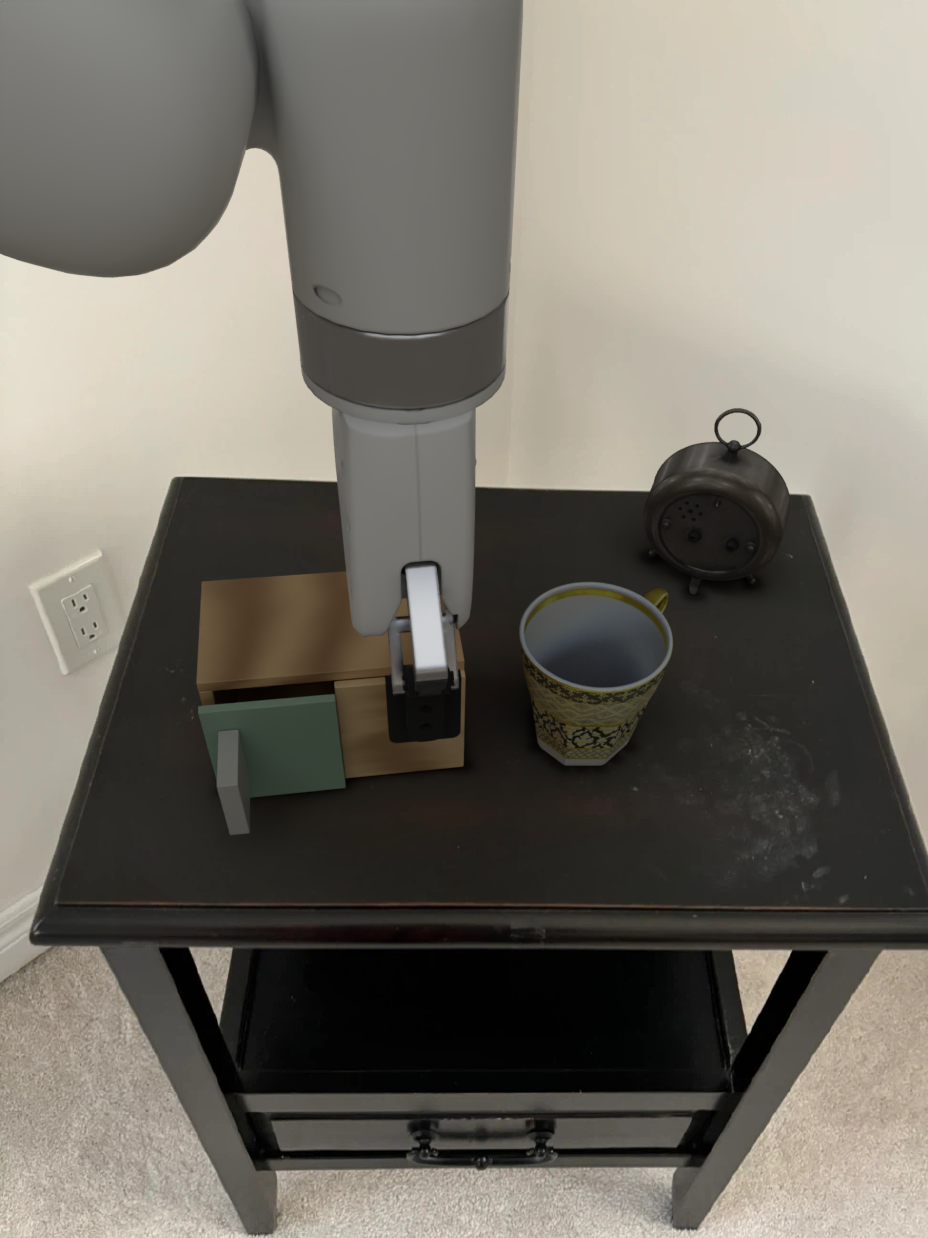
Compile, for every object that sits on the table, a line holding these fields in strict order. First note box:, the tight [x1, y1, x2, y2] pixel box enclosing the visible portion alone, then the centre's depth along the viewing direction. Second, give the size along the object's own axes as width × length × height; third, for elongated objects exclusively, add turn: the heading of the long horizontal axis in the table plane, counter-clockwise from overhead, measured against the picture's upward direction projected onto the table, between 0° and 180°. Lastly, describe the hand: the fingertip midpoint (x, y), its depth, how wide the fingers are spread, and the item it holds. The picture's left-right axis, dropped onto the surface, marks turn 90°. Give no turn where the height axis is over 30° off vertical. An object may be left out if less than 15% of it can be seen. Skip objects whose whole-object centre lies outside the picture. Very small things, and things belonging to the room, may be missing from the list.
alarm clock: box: [642, 407, 791, 595], centre depth 79 cm, size 11×5×16 cm, turn 71°
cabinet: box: [196, 570, 467, 779], centre depth 69 cm, size 16×10×11 cm, turn 99°
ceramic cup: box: [518, 581, 674, 767], centre depth 71 cm, size 13×10×10 cm
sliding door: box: [197, 694, 347, 836], centre depth 63 cm, size 8×5×9 cm, turn 99°
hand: (413, 657), depth 50 cm, fingers open, 9 cm apart
